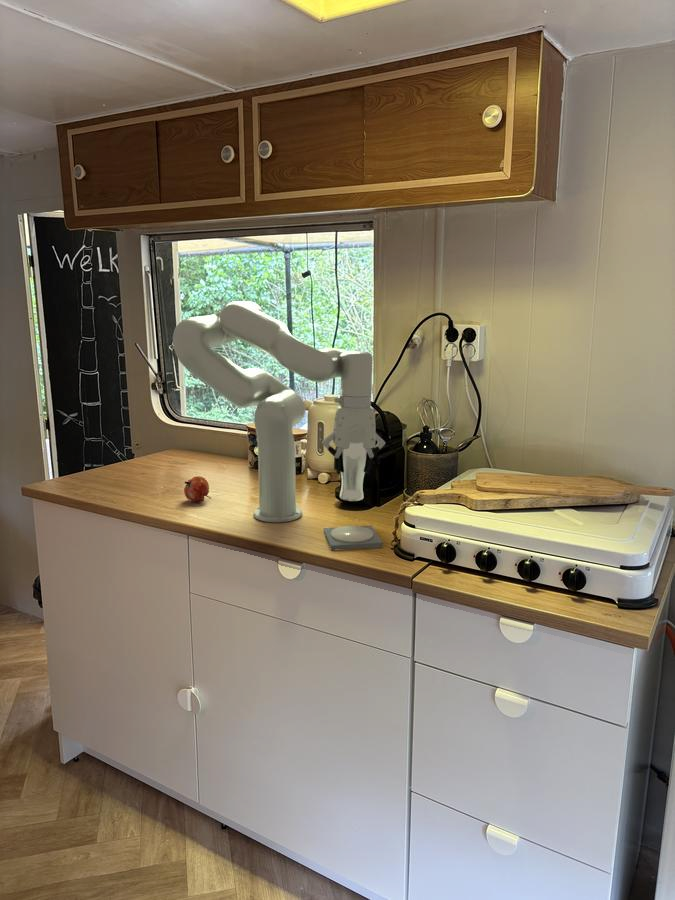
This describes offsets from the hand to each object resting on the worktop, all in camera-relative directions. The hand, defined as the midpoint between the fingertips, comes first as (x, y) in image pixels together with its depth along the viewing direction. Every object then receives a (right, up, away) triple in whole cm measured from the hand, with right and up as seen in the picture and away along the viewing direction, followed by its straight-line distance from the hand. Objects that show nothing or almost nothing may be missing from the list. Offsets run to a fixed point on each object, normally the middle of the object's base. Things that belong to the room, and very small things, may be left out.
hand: (352, 471), depth 176 cm
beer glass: (0, -7, +2) cm, 7 cm away
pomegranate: (-43, -9, +21) cm, 48 cm away
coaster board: (0, -16, -9) cm, 18 cm away
